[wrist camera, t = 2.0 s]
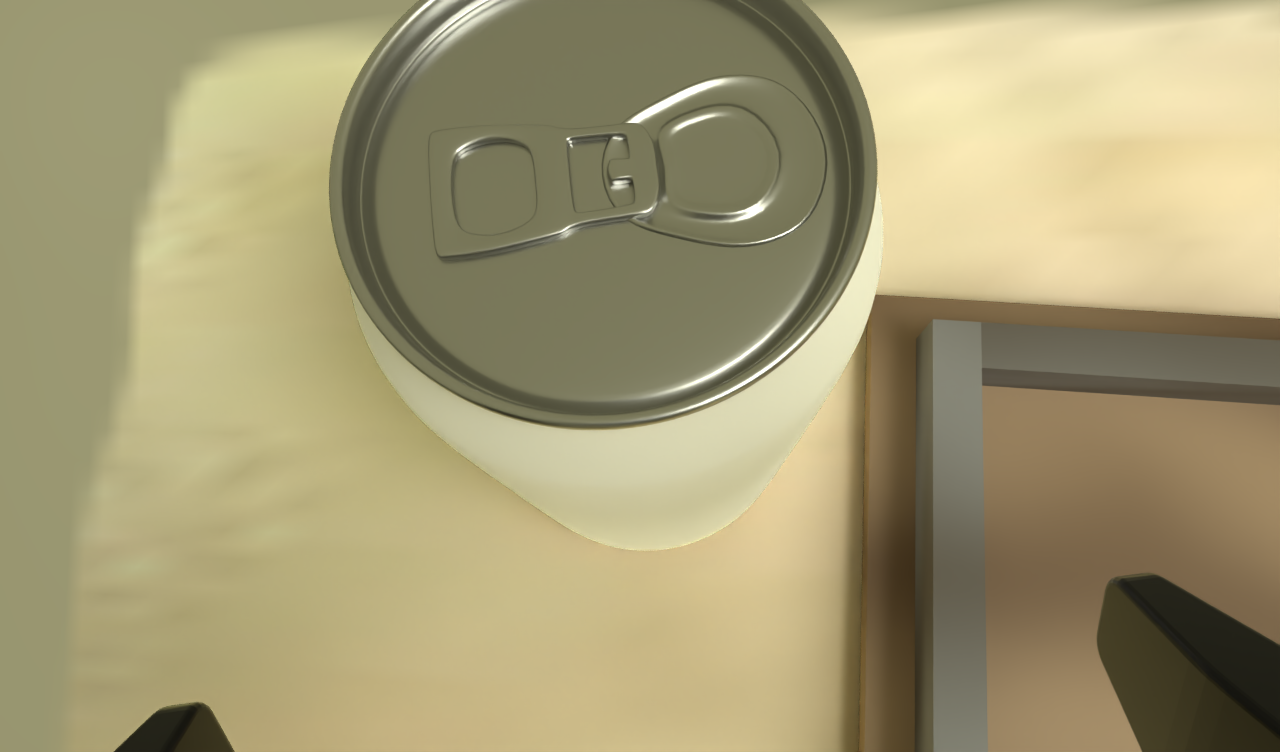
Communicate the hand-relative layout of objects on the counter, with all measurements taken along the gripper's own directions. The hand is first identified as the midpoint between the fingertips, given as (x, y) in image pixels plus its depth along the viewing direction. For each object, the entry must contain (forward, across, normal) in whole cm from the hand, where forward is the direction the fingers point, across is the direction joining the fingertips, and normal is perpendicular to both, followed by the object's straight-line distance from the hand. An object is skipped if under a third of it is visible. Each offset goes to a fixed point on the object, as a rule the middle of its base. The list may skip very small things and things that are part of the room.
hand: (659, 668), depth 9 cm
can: (+11, 0, +4) cm, 12 cm away
